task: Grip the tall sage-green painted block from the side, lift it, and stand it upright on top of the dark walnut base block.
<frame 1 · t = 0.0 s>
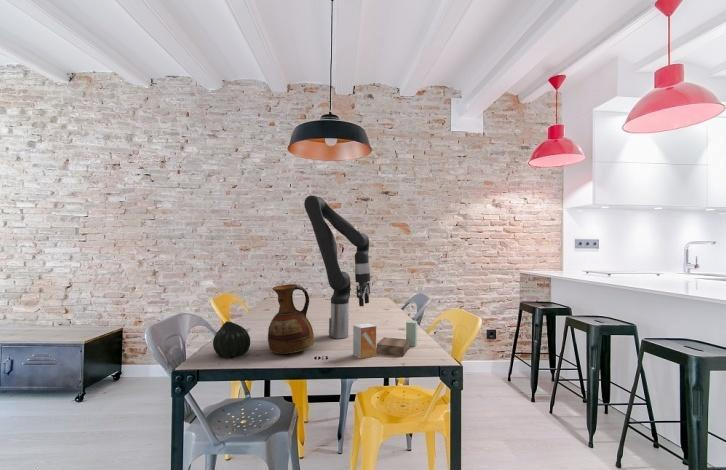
hand: (364, 304, 185), 17 cm above the table, tool pointing down, fingers open, 8 cm apart
small box: (364, 356, 158), on the table
ceramic pitcher: (291, 351, 164), on the table
squash: (231, 355, 158), on the table
sage block: (411, 344, 175), on the table
walnut base block: (393, 350, 165), on the table
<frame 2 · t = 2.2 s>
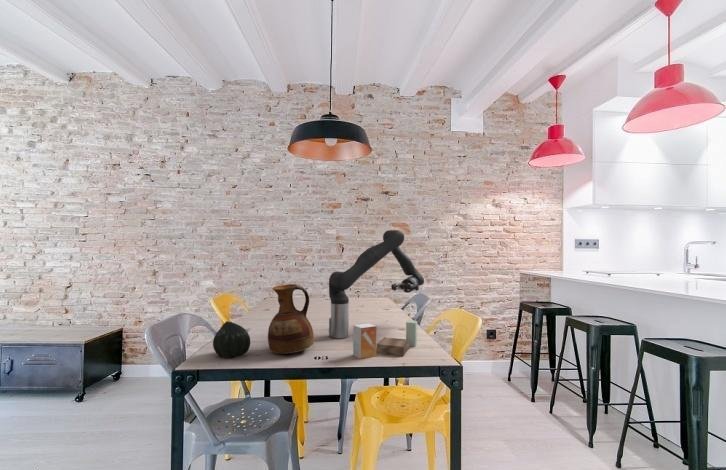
hand: (402, 289, 191), 24 cm above the table, tool horizontal, fingers open, 8 cm apart
nothing on the table moved.
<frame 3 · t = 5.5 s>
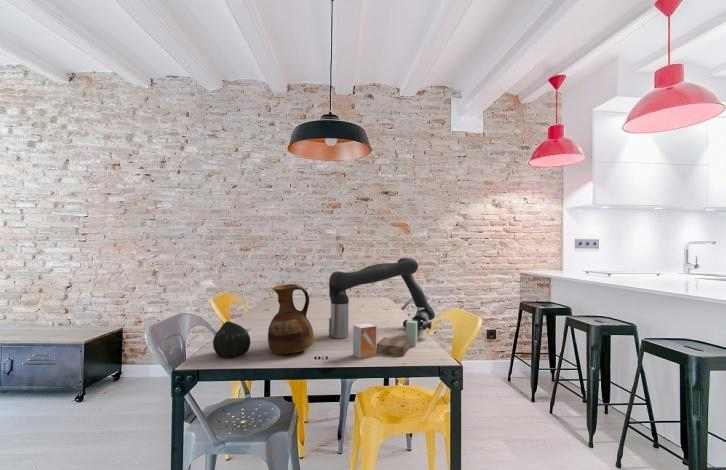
hand: (414, 327, 183), 6 cm above the table, tool horizontal, fingers open, 8 cm apart
nothing on the table moved.
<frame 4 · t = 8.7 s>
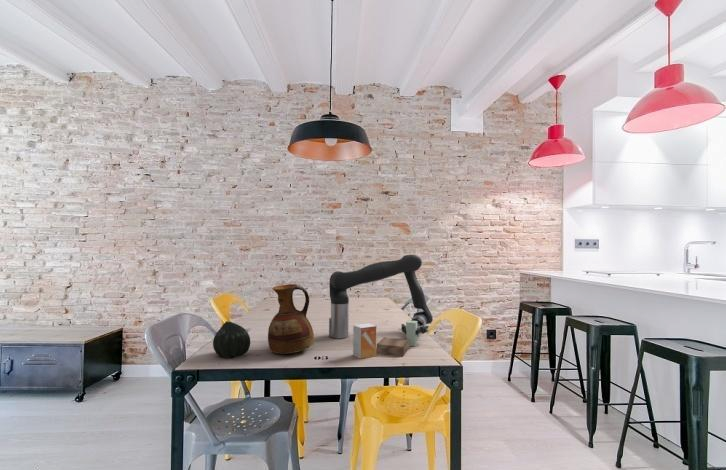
hand: (410, 332, 173), 7 cm above the table, tool horizontal, fingers closed on sage block, 4 cm apart
sage block: (411, 344, 175), on the table, touching gripper
everything else where it was.
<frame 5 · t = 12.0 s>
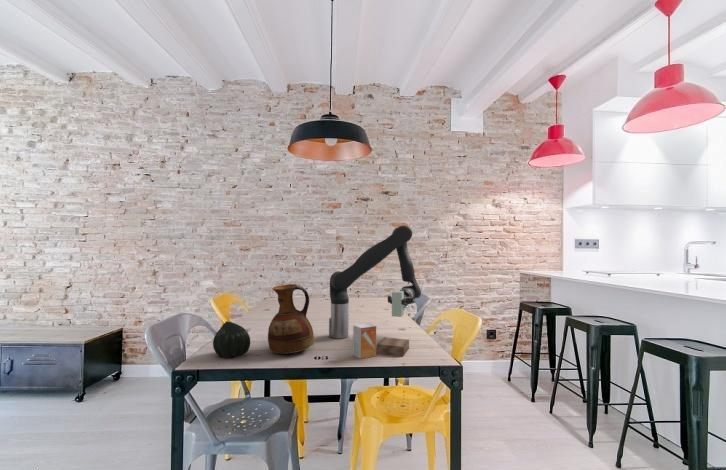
hand: (396, 302, 166), 22 cm above the table, tool horizontal, fingers closed on sage block, 4 cm apart
sage block: (397, 315, 168), point 15 cm above the table, touching gripper
everything else where it was.
when the fingers open (12 cm above the table, at t = 15.5 s): sage block drops 1 cm, resting on walnut base block.
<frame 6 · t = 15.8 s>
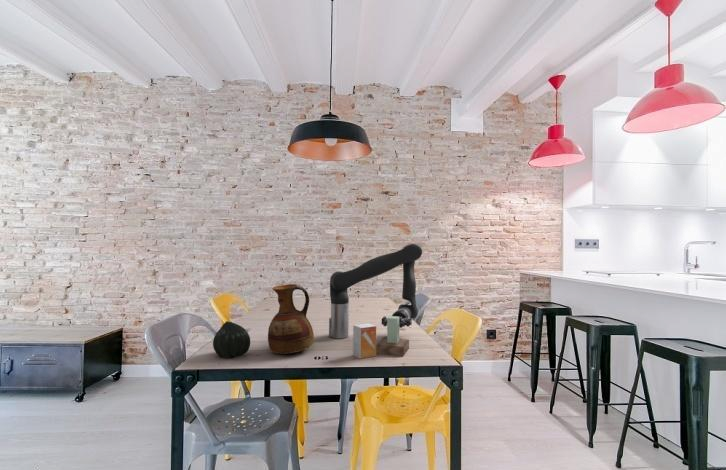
hand: (392, 324, 164), 12 cm above the table, tool horizontal, fingers open, 6 cm apart
sage block: (393, 341, 166), point 4 cm above the table, touching walnut base block
everything else where it was.
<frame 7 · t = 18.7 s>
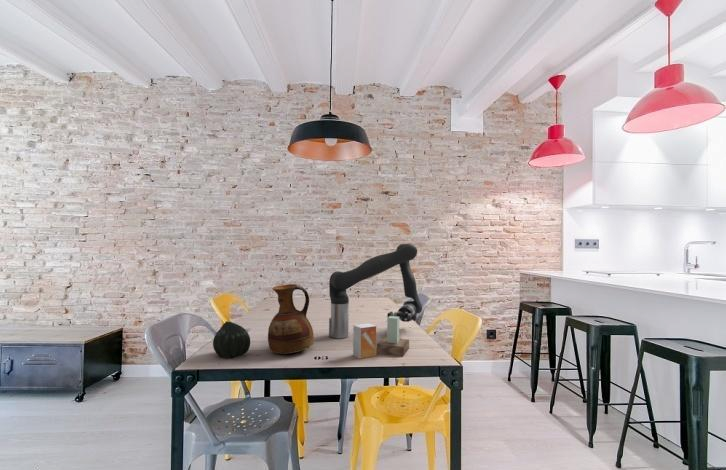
hand: (399, 319, 176), 12 cm above the table, tool horizontal, fingers open, 8 cm apart
nothing on the table moved.
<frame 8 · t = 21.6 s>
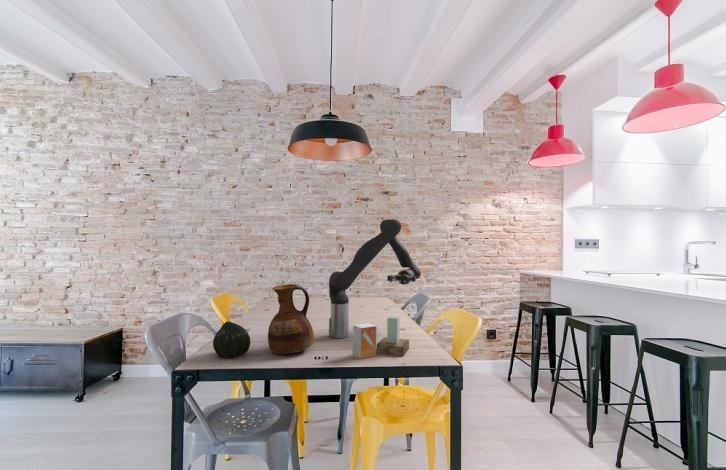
hand: (398, 279, 184), 30 cm above the table, tool horizontal, fingers open, 8 cm apart
nothing on the table moved.
at the end: sage block inside the target area on the walnut base block (0.0 cm from its centre), point 4.0 cm above the walnut base block's base; sage block tilted 0°; the gripper is holding nothing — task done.
